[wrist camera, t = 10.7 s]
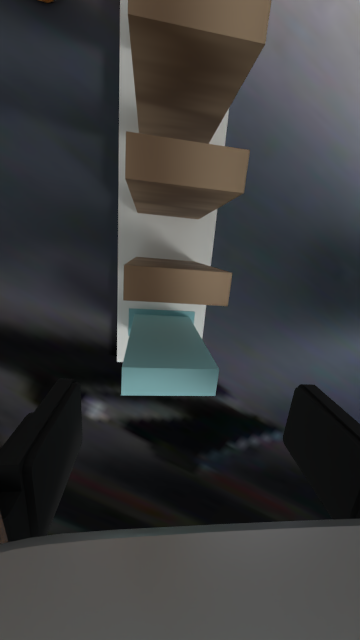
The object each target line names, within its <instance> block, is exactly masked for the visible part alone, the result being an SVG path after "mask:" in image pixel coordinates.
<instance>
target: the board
mask: <svg viewBox="0 0 360 640" xmlns="http://www.w3.org/2000/svg"><path fill="white" fill-rule="evenodd" d="M228 114H229V109H228V111H227V112H226V114H225V116H224V118H223V119H222V121H221V123H220V125H219V126H218V128H217V130H216V132H215V133H214V135H213V137H212V139H211V141H210V142H209V144H213V145H219V146H225V140H226V131H227V123H228ZM126 131H128V132H134V133H139V128H138V117H137V107H136V96H135V86H134V75H133V65H132V54H131V44H130V33H129V23H128V0H120V71H119V187H118V303H117V362H123V361H124V357H125V352H126V348H127V344H128V339H129V335H130V331H131V326H132V322H133V318H134V314H146V315H164V316H183V317H190V319H191V321H192V323H193V324H194V326H195V328H196V330H197V331H198V333H199V335H200V337H201V338H202V337H203V328H204V320H205V311H206V305H198V304H179V303H161V302H143V301H125V300H123V283H124V264H126V263H127V262H129V261H130V260H132V259H133V258H135V257H146V258H159V259H171V260H183V261H195V262H198V263H201V264H205V265H208V266H211V260H212V251H213V243H214V234H215V225H216V217H217V209H216V210H214V211H212V212H210V213H209V214H207V215H205V216H204V217H202V218H200V219H190V218H180V217H171V216H161V215H152V214H143V213H137V210H136V207H135V205H134V202H133V199H132V196H131V193H130V191H129V188H128V185H127V182H126V179H125V154H126Z"/></svg>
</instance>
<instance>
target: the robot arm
mask: <svg viewBox="0 0 360 640" xmlns="http://www.w3.org/2000/svg"><path fill="white" fill-rule="evenodd" d="M283 441H284V444H285V446H286V448H287V449H288V451H289V452H290V454H291V455H292V457H293V458H294V460H295V462H296V463H297V465H298V466H299V468H300V469H301V471H302V472H303V474H304V475H305V477H306V479H307V480H308V482H309V483H310V485H311V486H312V488H313V489H314V491H315V492H316V494H317V496H318V497H319V499H320V500H321V502H322V503H323V505H324V506H325V508H326V509H327V511H328V513H329V514H330V516H331V517H332V519H333V520H311V521H287V522H265V523H242V524H221V525H200V526H181V527H162V528H143V529H123V530H109V531H95V532H81V533H67V534H57V535H48V536H47V533H48V531H49V528H50V525H51V523H52V520H53V518H54V515H55V512H56V510H57V507H58V505H59V502H60V499H61V497H62V494H63V492H64V489H65V486H66V484H67V481H68V478H69V476H70V473H71V471H72V468H73V465H74V463H75V460H76V458H77V455H78V452H79V450H80V447H81V444H82V415H81V391H80V383H76V381H75V379H59V380H58V381H57V382H56V383H55V385H54V386H53V387H52V389H51V390H50V392H49V393H48V394H47V396H46V397H45V398H44V400H43V401H42V402H41V404H40V405H39V406H38V408H37V409H36V410H35V412H34V413H29V414H28V415H27V416H26V417H25V418H24V419H23V421H22V422H21V423H20V425H19V426H18V427H17V428H16V430H15V431H14V432H13V434H12V435H11V436H10V437H9V439H8V440H7V441H6V443H5V444H4V445H3V447H2V448H1V449H0V640H360V424H359V423H358V422H357V421H356V420H354V419H353V418H352V417H351V416H350V415H349V414H348V413H346V412H345V411H344V410H343V409H342V408H341V407H339V406H338V405H337V404H336V403H335V402H334V401H333V400H331V399H330V398H329V397H328V396H327V395H326V394H325V393H323V392H322V391H321V390H320V389H319V388H318V387H317V386H315V385H305V384H301V385H299V386H298V388H296V389H295V391H294V395H293V399H292V403H291V407H290V411H289V415H288V419H287V423H286V427H285V431H284V435H283Z"/></svg>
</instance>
